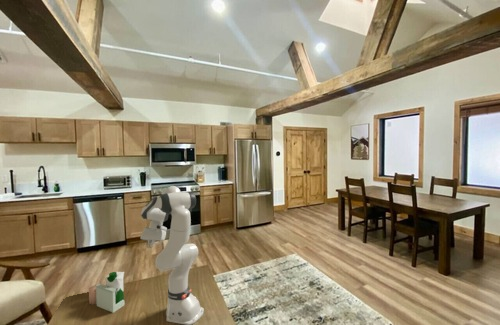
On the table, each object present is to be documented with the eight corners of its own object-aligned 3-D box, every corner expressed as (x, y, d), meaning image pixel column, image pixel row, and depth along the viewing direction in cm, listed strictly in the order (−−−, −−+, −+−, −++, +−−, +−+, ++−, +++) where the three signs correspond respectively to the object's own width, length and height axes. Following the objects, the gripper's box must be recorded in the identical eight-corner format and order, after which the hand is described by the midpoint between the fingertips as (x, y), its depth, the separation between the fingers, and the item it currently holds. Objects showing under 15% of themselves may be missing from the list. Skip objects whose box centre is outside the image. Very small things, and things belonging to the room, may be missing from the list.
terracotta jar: (102, 299, 146) (102, 286, 145) (93, 305, 140) (92, 291, 140) (96, 297, 148) (96, 284, 148) (87, 302, 143) (86, 289, 142)
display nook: (124, 304, 141) (124, 284, 140) (113, 312, 134) (112, 291, 133) (108, 298, 147) (107, 279, 146) (96, 306, 140) (95, 285, 139)
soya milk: (104, 307, 139) (103, 275, 138) (113, 297, 148) (112, 267, 147) (118, 307, 139) (117, 275, 138) (126, 297, 148) (125, 268, 147)
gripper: (141, 225, 169) (135, 245, 163) (163, 226, 161) (157, 247, 155) (147, 227, 174) (142, 246, 168) (169, 228, 166) (163, 248, 160)
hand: (149, 246), depth 161 cm, fingers closed
